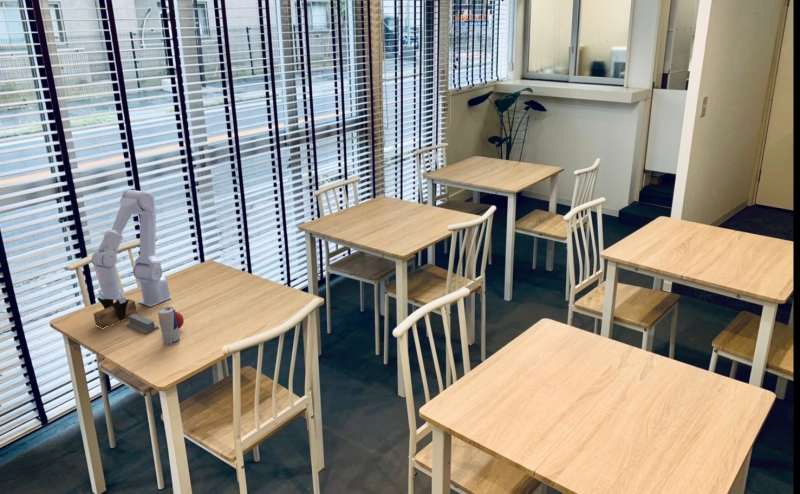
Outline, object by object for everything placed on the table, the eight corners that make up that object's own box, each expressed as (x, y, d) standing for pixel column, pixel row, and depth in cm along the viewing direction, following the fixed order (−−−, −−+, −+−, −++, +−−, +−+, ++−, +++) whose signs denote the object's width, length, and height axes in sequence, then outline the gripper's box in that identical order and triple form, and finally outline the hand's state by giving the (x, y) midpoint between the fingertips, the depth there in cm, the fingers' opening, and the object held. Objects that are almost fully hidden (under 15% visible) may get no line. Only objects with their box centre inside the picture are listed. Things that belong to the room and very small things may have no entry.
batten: (131, 312, 238) (128, 299, 236) (137, 314, 236) (134, 301, 234) (96, 327, 227) (93, 313, 226) (102, 329, 225) (99, 316, 223)
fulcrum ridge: (139, 320, 231) (137, 312, 230) (158, 328, 224) (157, 320, 223) (126, 325, 227) (125, 317, 226) (146, 334, 220) (144, 325, 219)
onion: (181, 334, 219) (178, 313, 216) (165, 334, 219) (161, 313, 217) (187, 326, 225) (183, 306, 222) (171, 326, 225) (167, 306, 222)
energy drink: (182, 338, 216) (177, 306, 212) (176, 346, 211) (170, 313, 207) (167, 338, 217) (161, 306, 213) (160, 345, 212) (154, 313, 208)
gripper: (87, 281, 227) (95, 315, 232) (109, 290, 219) (117, 325, 224) (106, 275, 233) (113, 308, 237) (128, 283, 224) (135, 317, 229)
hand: (116, 316), depth 231 cm, fingers open, 7 cm apart
